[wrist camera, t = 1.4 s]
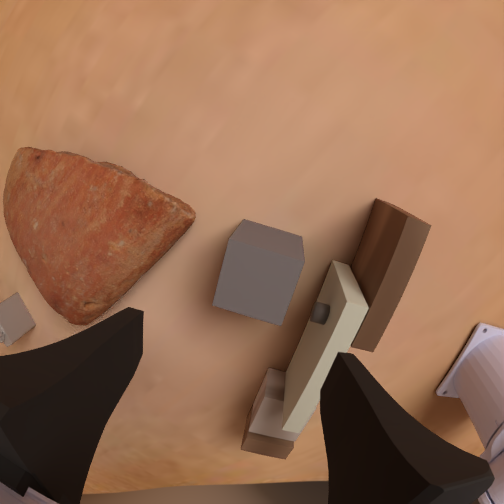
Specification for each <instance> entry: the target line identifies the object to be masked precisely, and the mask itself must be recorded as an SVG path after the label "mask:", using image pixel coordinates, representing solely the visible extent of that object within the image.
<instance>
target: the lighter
mask: <svg viewBox="0 0 504 504" xmlns="http://www.w3.org/2000/svg"><path fill="white" fill-rule="evenodd" d="M35 325H36V323H35V322H34V320H33V318H32V317H31V315H30V313H29V311H28V310H27V308H26V306H25V304H24V302H23V300H22V299H21V297H20V295H19V293H18V292H17V293H15V294H14V295H12V296H10V297H9V298H7V299H6V300H4V301H3V302H1V303H0V342H1V343H3V342H4V344H5V345H6V346H7V347H8V346H10V345H12V344H13V343H14V342H16V341H17V340H18V339H19V338H20V337H22V336H23V335H24V334H25V333H27V332H28V331H29V330H30V329H32V328H33V327H34V326H35Z"/></svg>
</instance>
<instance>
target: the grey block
mask: <svg viewBox="0 0 504 504" xmlns="http://www.w3.org/2000/svg"><path fill="white" fill-rule="evenodd" d="M304 262H305V260H304V250H303V241H302V236H298V235H295V234H292V233H289V232H285V231H282V230H279V229H275V228H272V227H269V226H265V225H262V224H259V223H255V222H252V221H249V220H245V219H244V220H243V221H242V222H241V223H240V225H239V226H238V227H237V229H236V230H235V231H234V233H233V234H232V235H231V237H230V238H229V241H228V245H227V249H226V253H225V256H224V260H223V264H222V268H221V272H220V276H219V280H218V284H217V288H216V292H215V296H214V300H213V304H212V305H213V306H216V307H219V308H222V309H226V310H229V311H232V312H235V313H238V314H242V315H245V316H248V317H252V318H255V319H258V320H262V321H265V322H268V323H272V324H275V325H279V326H281V325H282V322H283V320H284V317H285V314H286V312H287V309H288V306H289V304H290V301H291V298H292V296H293V293H294V290H295V287H296V285H297V282H298V279H299V276H300V273H301V271H302V268H303V265H304Z"/></svg>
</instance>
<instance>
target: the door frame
mask: <svg viewBox="0 0 504 504" xmlns="http://www.w3.org/2000/svg"><path fill="white" fill-rule="evenodd" d="M430 227H431V225H429V224H428V223H426V222H424V221H422V220H421V219H419V218H417V217H415V216H413V215H412V214H410V213H408V212H406V211H404V210H403V209H401V208H399V207H397V206H395V205H393V204H390V203H387V202H385V201H382V200H380V199H377V198H376V200H375V203H374V206H373V209H372V212H371V215H370V218H369V221H368V224H367V226H366V229H365V232H364V235H363V237H362V240H361V243H360V245H359V248H358V251H357V253H356V256H355V259H354V261H353V264H352V266H351V271H352V273H353V275H354V277H355V279H356V281H357V283H358V285H359V288H360V290H361V292H362V294H363V296H364V298H365V301H366V303H367V305H368V307H369V309H368V311H367V313H366V315H365V317H364V319H363V321H362V323H361V325H360V327H359V329H358V331H357V333H356V335H355V337H354V339H353V341H352V343H351V347H353V348H357V349H361V350H366V351H370V352H374V350H375V348H376V346H377V344H378V342H379V341H380V339H381V337H382V335H383V333H384V331H385V329H386V327H387V325H388V323H389V321H390V319H391V318H392V316H393V313H394V311H395V309H396V307H397V305H398V303H399V301H400V299H401V297H402V295H403V293H404V290H405V288H406V286H407V284H408V282H409V279H410V277H411V275H412V272H413V270H414V268H415V265H416V263H417V261H418V258H419V256H420V253H421V251H422V248H423V246H424V243H425V241H426V238H427V235H428V233H429V230H430ZM285 376H286V372H284V371H280V370H276V369H272V368H268V370H267V373H266V375H265V377H264V380H263V382H262V384H261V387H260V389H259V391H258V394H257V396H256V398H255V401H254V403H253V405H252V408H251V410H250V412H249V414H248V417H247V420H246V425H245V430H244V435H243V440H242V445H241V450H244V451H248V452H252V453H257V454H261V455H266V456H270V457H275V458H280V459H286V458H287V456H288V455H289V454H290V452H291V451H292V449H293V448H294V441H296V439H297V438H298V436H299V435H300V433H301V432H302V430H303V429H304V427H305V426H306V424H307V423H308V421H309V419H310V418H311V416H312V415H313V413H314V411H315V410H316V407H315V409H314V411H313V412H312V414H311V416H310V417H309V419H308V420H307V422H306V423H305V425H304V427H303V428H302V430H301V431H300V433H295V432H290V431H285V430H282V420H283V406H284V392H285Z"/></svg>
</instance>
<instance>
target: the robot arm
mask: <svg viewBox="0 0 504 504" xmlns="http://www.w3.org/2000/svg"><path fill="white" fill-rule="evenodd" d="M143 313H144V311H141V310H137V309H134V308H130V307H128V308H126V309H124V310H122V311H120V312H118V313H116V314H114V315H112V316H111V317H109V318H107V319H105V320H103V321H101V322H99V323H97V324H96V325H94V326H92V327H90V328H88V329H86V330H84V331H81V332H79V333H77V334H75V335H73V336H71V337H69V338H66V339H64V340H61V341H59V342H56V343H53V344H50V345H47V346H44V347H41V348H38V349H34V350H30V351H25V352H21V353H17V354H11V355H5V356H0V504H80V500H81V496H82V492H83V488H84V484H85V481H86V478H87V474H88V471H89V468H90V465H91V462H92V459H93V456H94V453H95V451H96V448H97V445H98V443H99V440H100V438H101V435H102V433H103V430H104V428H105V425H106V423H107V421H108V419H109V417H110V416H111V414H112V412H113V410H114V409H115V407H116V405H117V403H118V402H119V400H120V398H121V397H122V395H123V393H124V391H125V390H126V388H127V386H128V385H129V383H130V381H131V379H132V378H133V376H134V374H135V371H136V369H137V367H138V364H139V362H140V359H141V357H142V354H143ZM444 391H445V392H444ZM436 394H437V395H438V396H445V397H454V398H460V399H461V401H462V403H463V405H464V407H465V409H466V411H467V413H468V415H469V417H470V419H471V421H472V423H473V425H474V427H475V429H476V431H477V433H478V435H479V437H480V439H481V442H482V444H483V446H484V448H485V451H484V452H483V453H482V454H481V455H480V457H477V456H475V455H472V454H470V453H468V452H465V451H463V450H461V449H459V448H457V447H456V446H454V445H452V444H450V443H448V442H447V441H445V440H443V439H442V438H440V437H439V436H437V435H436V434H434V433H433V432H431V431H430V430H428V429H427V428H426V427H424V426H423V425H422V424H420V423H419V422H418V421H417V420H416V419H414V418H413V417H412V416H411V415H410V414H408V413H407V412H406V411H405V410H404V409H403V408H402V407H401V406H400V405H399V404H398V403H397V402H396V401H395V400H394V399H393V398H392V397H391V396H390V395H389V394H388V393H387V392H386V391H385V390H384V388H383V387H382V386H381V385H380V384H379V383H378V382H377V381H376V379H375V378H374V377H373V376H372V375H371V374H370V372H369V371H368V370H367V369H366V368H365V367H364V365H363V364H362V363H361V362H360V361H359V360H358V359H357V358H356V356H355V355H354V354H351V353H344V352H338V353H337V355H336V357H335V359H334V362H333V364H332V366H331V368H330V370H329V373H328V375H327V377H326V379H325V381H324V383H323V385H322V387H321V389H320V414H321V421H322V427H323V434H324V440H325V446H326V453H327V459H328V470H329V497H328V504H471V503H472V502H474V501H475V500H476V499H477V498H478V500H479V502H480V504H504V329H501V328H498V327H495V326H491V325H488V324H485V323H479V324H478V325H477V326H476V328H475V330H474V332H473V333H472V335H471V337H470V339H469V340H468V342H467V344H466V345H465V347H464V349H463V350H462V352H461V354H460V355H459V357H458V359H457V360H456V362H455V363H454V365H453V366H452V368H451V369H450V371H449V372H448V374H447V375H446V377H445V378H444V380H443V381H442V383H441V384H440V386H439V387H438V388H437V390H436Z"/></svg>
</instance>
